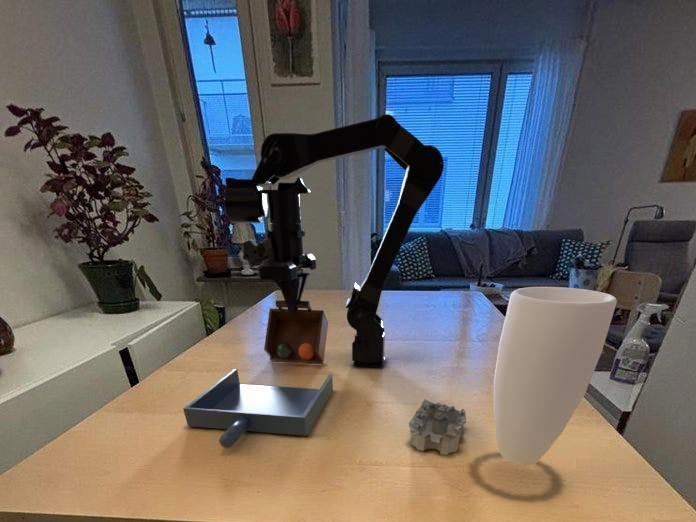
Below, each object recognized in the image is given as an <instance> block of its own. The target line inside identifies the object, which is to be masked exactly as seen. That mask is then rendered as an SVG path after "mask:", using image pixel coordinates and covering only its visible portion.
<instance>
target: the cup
mask: <svg viewBox="0 0 696 522" xmlns="http://www.w3.org/2000/svg"><path fill="white" fill-rule="evenodd" d="M508 300H509V301H508V304H507V308H506V314H505V317H504V321H503V324H502V325H503V326H502V330H501V334H500V338H499V343H498V350H497V356H496V363H495V370H494V375H493V376H494V377H493V419H494V428H495V434H496V443H497V447H498V450H499V455H500V456H501V458H502V459H503V460H505V461H507V462H508V463H510V464H514V465H518V466H532V465H535V464H537V463H538V462H539V461H540V460H541V459H542V458H543V457H544V456H545V455H546V454H547V452H549V450H550V449H551V448H552V446H553V445H554V444H555V442H557V440H558V439H559V437H561V435H562V434H563V432H564V430H565V429H566V427H567V425H568V423H569V422H570V421H571V418H572V417H573V415H574V414H575V412H576V410H577V409H578V407H579V405H580V403H581V402H582V400H583V398H584V396H585V395H586V393H587V390H588V387H589V385H590V383H591V380H592V377H593V375H594V373H595V370H596V367H597V366H598V362H599V360H600V357H601V355H602V352H603V349H604V345H605V343H606V339H607V336H608V332H609V329H610V326H611V323H612V320H613V316H614V312H615V309H616V306H617V303H618V300H617V298H616V297H615V296H613V295H612V294H610V293H606V292H602V291H597V290H590V289H585V288H576V287H575V288H574V287H564V286H527V287H523V288H522V287H521V288H520V287H519V288H517V289H515V290H513V291H512V292H511V293H510V296H509V299H508Z"/></svg>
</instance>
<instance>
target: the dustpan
mask: <svg viewBox="0 0 696 522" xmlns="http://www.w3.org/2000/svg"><path fill="white" fill-rule="evenodd" d="M239 376H240V375H239V371H238V368H234V369H232V370H231V371H230V372H228V373H227V374H226V375H224V376H223V377H222V378H221V379H220V380H218V381H217V382H216V383H214V384H213V385H212V386H210V387H209V388H208V389H207V390H205V391H204V392H203V393H201V394H200V395H198V396H197V397H196V398H195V399H194V400H192V401H191V402H190V403H188V404H187V405H186V406H184V407H183V413H184V417H185V420H186V424H187V427H194V428H195V427H196V428H204V429H205V428H207V429H217V430H219V429H220V430H225V431H224V432H223V434H221V435H220V437H219V440H218V443H219V444H220V447H222V448H224V449H229V448H232V447H233V446H234V445H235V444H236V443H237V441H238V440H239V439H240V438H241V437H242V436H243V435H244V433H245V432H254V433H255V432H256V433H258V432H259V433H267V434H280V435H293V436H304V437H305V436H306V437H307V436H309V434H310V432H311V430H312V429H313V427H314V426H315V423H316V422H317V420H318V418H319V417H320V415H321V414H322V412H323V410H324V408H325V407H326V405H327V403H328V401H329V399H330V398H331V396H332V394H333V392H334V384H333V382H334V381H333V374H329V375H328V376H327V378H326V379H325V381H324V382H323V384H321V386H320V387H319V389H318V388H306V387H292V386H291V387H289V386H276V385H275V386H274V385H273V386H272V385H258V384H257V385H256V384H242V383H240V377H239Z"/></svg>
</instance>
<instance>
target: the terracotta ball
mask: <svg viewBox="0 0 696 522" xmlns="http://www.w3.org/2000/svg"><path fill="white" fill-rule="evenodd" d="M298 352H299V355H300V357H301V358H303V359H305V360H308V359H310V358H312V357H313V355H314V349H313V347H312V346H311V345H310V344H308V343H304V344H302V345H301V346H300V347H299V350H298Z"/></svg>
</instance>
